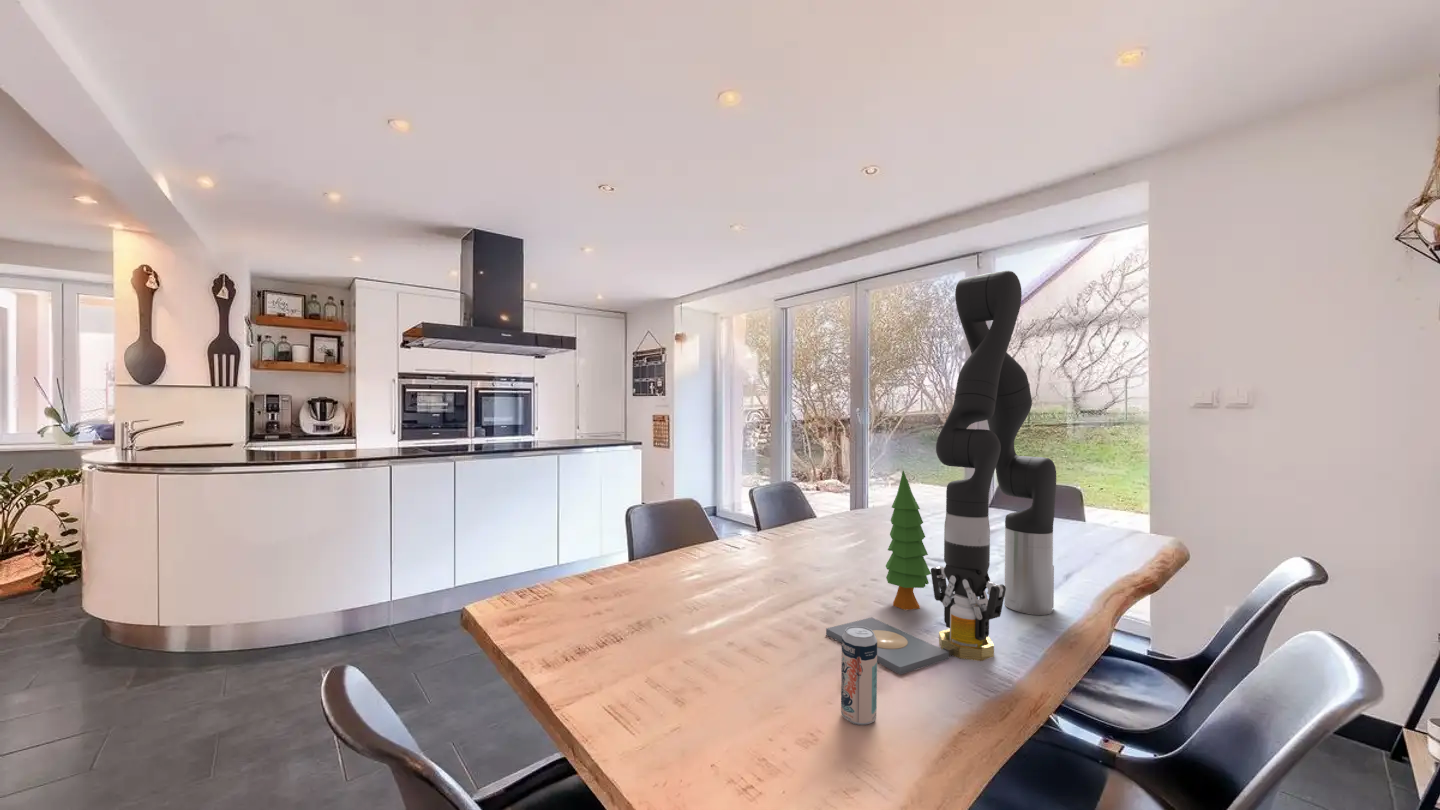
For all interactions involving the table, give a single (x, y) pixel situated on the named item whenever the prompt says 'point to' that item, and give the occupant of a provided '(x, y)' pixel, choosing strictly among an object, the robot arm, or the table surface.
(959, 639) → the supplement bottle
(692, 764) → the table surface
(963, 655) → the collar
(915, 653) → the board
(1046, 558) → the robot arm
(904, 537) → the decorative tree
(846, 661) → the beer can
